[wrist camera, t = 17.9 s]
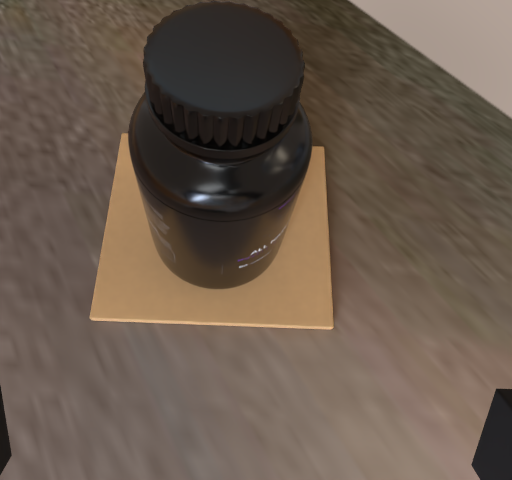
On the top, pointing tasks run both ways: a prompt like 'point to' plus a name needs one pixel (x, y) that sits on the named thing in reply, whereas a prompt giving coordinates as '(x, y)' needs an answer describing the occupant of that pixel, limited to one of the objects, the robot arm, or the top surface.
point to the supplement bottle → (220, 141)
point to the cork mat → (215, 300)
